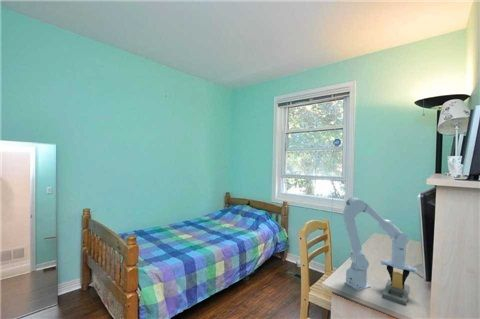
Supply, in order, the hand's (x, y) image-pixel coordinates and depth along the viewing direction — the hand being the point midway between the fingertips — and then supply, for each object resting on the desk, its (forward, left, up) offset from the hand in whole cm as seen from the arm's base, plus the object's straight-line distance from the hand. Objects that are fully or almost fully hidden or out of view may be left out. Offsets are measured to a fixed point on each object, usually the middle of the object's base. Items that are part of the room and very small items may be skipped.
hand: (397, 283), depth 115 cm
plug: (0, 0, -2) cm, 2 cm away
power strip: (-4, -2, -3) cm, 5 cm away
